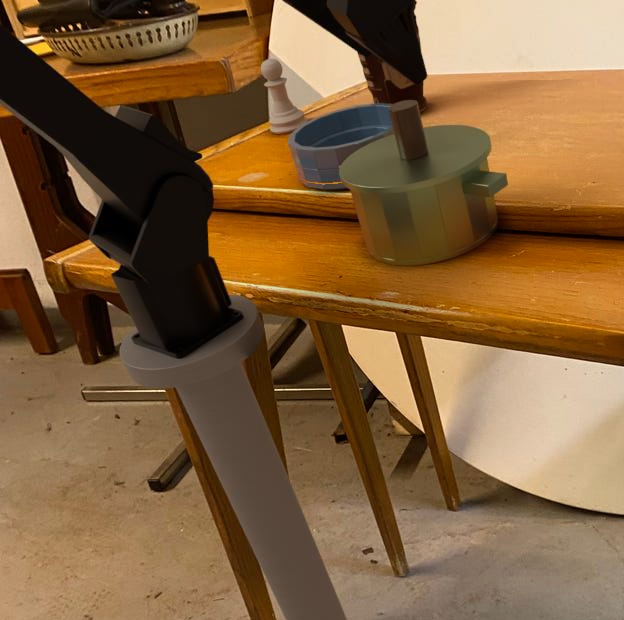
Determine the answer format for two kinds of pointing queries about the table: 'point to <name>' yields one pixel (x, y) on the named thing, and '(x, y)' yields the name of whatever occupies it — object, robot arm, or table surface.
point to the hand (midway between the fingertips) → (395, 66)
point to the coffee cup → (391, 80)
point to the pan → (336, 141)
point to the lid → (414, 155)
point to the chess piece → (281, 100)
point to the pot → (431, 218)
